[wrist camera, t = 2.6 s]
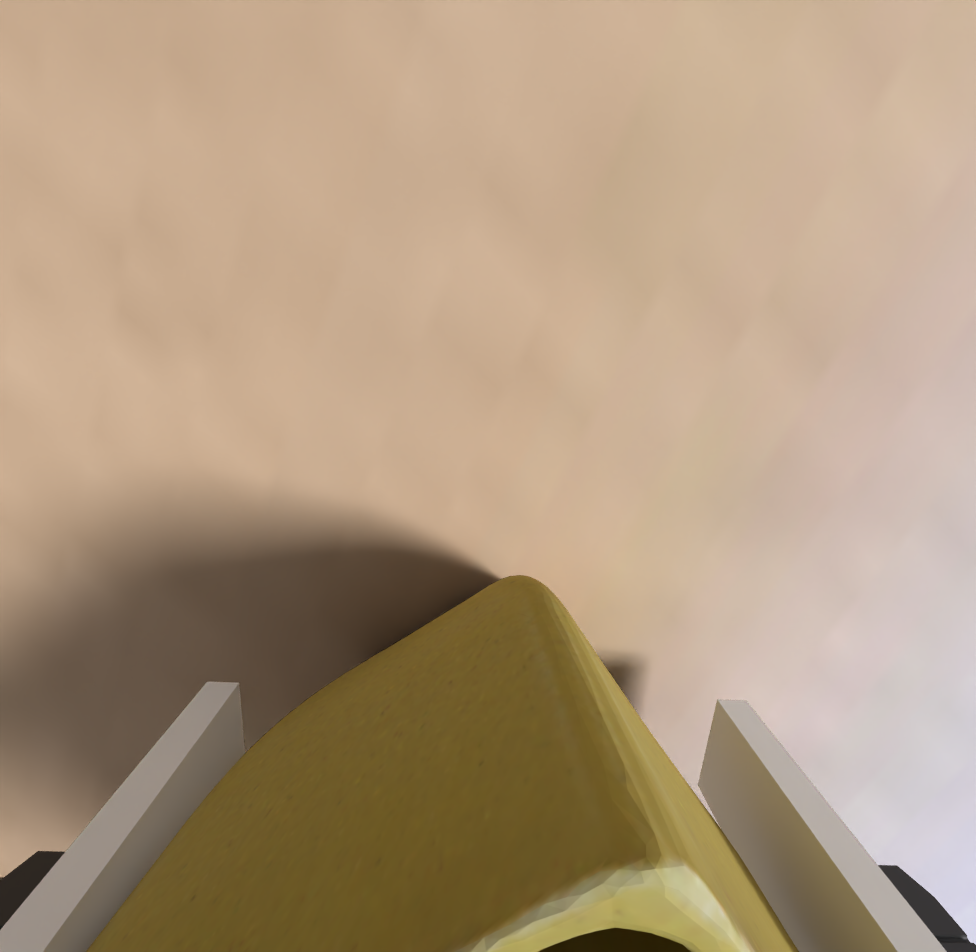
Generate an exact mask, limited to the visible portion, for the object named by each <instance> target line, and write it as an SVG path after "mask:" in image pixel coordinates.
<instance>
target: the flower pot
mask: <svg viewBox="0 0 976 952" xmlns="http://www.w3.org/2000/svg"><path fill="white" fill-rule="evenodd" d="M86 952H799V951H798V949H797V948H796V946H795V945H794V943H793V941H792V940H791V938H790V937H789V935H788V933H787V932H786V930H785V928H784V927H783V925H782V924H781V922H780V920H779V919H778V917H777V915H776V914H775V912H774V910H773V909H772V907H771V906H770V904H769V902H768V901H767V899H766V897H765V896H764V894H763V892H762V891H761V889H760V888H759V886H758V884H757V883H756V881H755V879H754V878H753V876H752V874H751V873H750V871H749V870H748V868H747V867H746V865H745V864H744V862H743V860H742V859H741V857H740V856H739V854H738V853H737V851H736V850H735V849H734V847H733V846H732V844H731V843H730V841H729V840H728V838H727V837H726V836H725V834H724V833H723V831H722V830H721V829H720V827H719V826H718V824H717V823H716V822H715V820H714V819H713V818H712V816H711V815H710V813H709V812H708V811H707V809H706V808H705V807H704V805H703V804H702V803H701V801H700V800H699V799H698V797H697V796H696V794H695V793H694V792H693V790H692V789H691V788H690V786H689V785H688V783H687V782H686V781H685V779H684V778H683V777H682V775H681V774H680V772H679V771H678V770H677V768H676V767H675V766H674V764H673V763H672V761H671V760H670V759H669V757H668V756H667V755H666V753H665V752H664V750H663V749H662V748H661V746H660V745H659V744H658V742H657V741H656V739H655V738H654V737H653V735H652V734H651V732H650V731H649V730H648V728H647V727H646V725H645V724H644V722H643V721H642V720H641V718H640V717H639V715H638V714H637V712H636V711H635V710H634V708H633V707H632V705H631V704H630V702H629V701H628V699H627V698H626V696H625V695H624V693H623V692H622V690H621V689H620V687H619V686H618V685H617V683H616V682H615V680H614V679H613V677H612V676H611V674H610V673H609V671H608V670H607V668H606V667H605V666H604V664H603V663H602V661H601V660H600V658H599V657H598V655H597V654H596V652H595V651H594V649H593V648H592V646H591V645H590V643H589V642H588V640H587V639H586V637H585V636H584V634H583V633H582V631H581V630H580V629H579V627H578V626H577V624H576V623H575V621H574V620H573V618H572V617H571V615H570V614H569V612H568V611H567V610H566V608H565V607H564V605H563V604H562V603H561V602H560V600H559V599H558V598H557V597H556V596H555V595H554V594H553V593H552V592H551V591H550V589H549V588H548V587H546V586H545V585H544V584H543V583H541V582H539V581H537V580H536V579H534V578H531V577H528V576H523V575H517V576H509V577H506V578H503V579H500V580H498V581H497V582H495V583H493V584H491V585H489V586H487V587H486V588H484V589H483V590H481V591H480V592H478V593H477V594H475V595H474V596H472V597H470V598H469V599H467V600H466V601H464V602H462V603H461V604H459V605H457V606H456V607H454V608H452V609H451V610H449V611H447V612H446V613H444V614H442V615H441V616H439V617H437V618H436V619H434V620H433V621H431V622H429V623H428V624H426V625H424V626H423V627H421V628H420V629H418V630H416V631H415V632H413V633H411V634H410V635H408V636H406V637H405V638H403V639H402V640H400V641H398V642H397V643H395V644H393V645H392V646H390V647H388V648H386V649H385V650H383V651H381V652H379V653H378V654H376V655H374V656H373V657H371V658H370V659H368V660H366V661H365V662H363V663H361V664H360V665H358V666H357V667H355V668H353V669H352V670H350V671H348V672H347V673H345V674H343V675H342V676H340V677H339V678H337V679H336V680H334V681H333V682H331V683H330V684H328V685H327V686H325V687H324V688H322V689H321V690H319V691H318V692H316V693H315V694H314V695H312V696H311V697H310V698H308V699H307V700H306V701H304V702H303V703H302V704H300V705H299V706H298V707H297V708H295V709H294V710H293V711H291V712H290V713H289V714H288V715H286V716H285V717H284V718H283V719H282V720H280V721H279V722H278V723H277V724H276V725H275V726H274V727H273V728H272V729H270V730H269V731H268V732H267V733H266V734H265V735H264V736H263V737H262V738H260V739H259V740H258V741H257V742H256V743H255V744H254V745H253V746H252V747H251V748H250V749H249V750H248V751H247V752H246V753H245V754H244V755H243V756H242V757H241V758H240V759H239V760H238V761H237V763H236V764H235V765H234V766H233V767H232V768H231V769H230V770H229V771H228V772H227V773H226V775H225V776H224V777H223V778H222V779H221V780H220V781H219V782H218V784H217V785H216V786H215V787H214V788H213V789H212V790H211V792H210V793H209V794H208V795H207V796H206V798H205V799H204V800H203V801H202V803H201V804H200V805H199V806H198V807H197V809H196V810H195V811H194V812H193V814H192V815H191V816H190V817H189V819H188V820H187V821H186V822H185V824H184V825H183V826H182V828H181V829H180V830H179V832H178V833H177V834H176V835H175V837H174V838H173V839H172V841H171V842H170V843H169V845H168V846H167V847H166V848H165V850H164V851H163V852H162V854H161V855H160V856H159V858H158V859H157V860H156V861H155V863H154V864H153V865H152V867H151V868H150V869H149V871H148V872H147V873H146V874H145V876H144V877H143V878H142V880H141V881H140V882H139V884H138V885H137V886H136V887H135V889H134V890H133V891H132V893H131V894H130V895H129V896H128V898H127V899H126V900H125V902H124V903H123V904H122V906H121V907H120V908H119V909H118V911H117V912H116V913H115V915H114V916H113V917H112V918H111V920H110V921H109V922H108V924H107V925H106V926H105V927H104V929H103V930H102V931H101V933H100V934H99V935H98V937H97V938H96V939H95V940H94V942H93V943H92V944H91V946H90V947H89V948H88V949H87V951H86Z"/></svg>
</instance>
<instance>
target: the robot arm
mask: <svg viewBox="0 0 976 952" xmlns="http://www.w3.org/2000/svg"><path fill="white" fill-rule="evenodd" d="M244 754H245V745H244V733H243V721H242V709H241V697H240V685H239V683H236V682H206V684H205V685H204V686H203V687H202V688H201V690H200V691H199V692H198V693H197V694H196V696H195V697H194V698H193V699H192V700H191V702H190V703H189V704H188V705H187V706H186V708H185V709H184V710H183V711H182V712H181V714H180V715H179V716H178V717H177V718H176V720H175V721H174V722H173V723H172V724H171V726H170V727H169V728H168V729H167V730H166V732H165V733H164V734H163V735H162V736H161V738H160V739H159V740H158V741H157V742H156V744H155V745H154V746H153V747H152V748H151V750H150V751H149V752H148V753H147V754H146V756H145V757H144V758H143V759H142V760H141V762H140V763H139V764H138V765H137V766H136V768H135V769H134V770H133V771H132V772H131V774H130V775H129V776H128V777H127V778H126V780H125V781H124V782H123V783H122V784H121V786H120V787H119V788H118V789H117V790H116V792H115V793H114V794H113V795H112V796H111V798H110V799H109V800H108V801H107V802H106V804H105V805H104V806H103V807H102V808H101V810H100V811H99V812H98V813H97V814H96V816H95V817H94V818H93V819H92V820H91V822H90V823H89V824H88V825H87V826H86V828H85V829H84V830H83V831H82V832H81V834H80V835H79V836H78V837H77V838H76V840H75V841H74V842H73V843H72V844H71V846H70V847H69V848H68V849H67V850H66V852H53V851H38V852H36V853H35V854H34V855H32V856H31V857H30V858H29V859H27V860H26V861H25V862H23V863H22V864H21V865H19V866H18V867H17V868H16V869H14V870H13V871H12V872H10V873H9V874H8V875H7V876H5V877H4V878H3V879H1V880H0V952H86V951H87V949H88V948H89V947H90V946H91V944H92V943H93V942H94V940H95V939H96V938H97V937H98V935H99V934H100V933H101V931H102V930H103V929H104V927H105V926H106V925H107V924H108V922H109V921H110V920H111V918H112V917H113V916H114V915H115V913H116V912H117V911H118V909H119V908H120V907H121V906H122V904H123V903H124V902H125V900H126V899H127V898H128V896H129V895H130V894H131V893H132V891H133V890H134V889H135V887H136V886H137V885H138V884H139V882H140V881H141V880H142V878H143V877H144V876H145V874H146V873H147V872H148V871H149V869H150V868H151V867H152V865H153V864H154V863H155V861H156V860H157V859H158V858H159V856H160V855H161V854H162V852H163V851H164V850H165V848H166V847H167V846H168V845H169V843H170V842H171V841H172V839H173V838H174V837H175V835H176V834H177V833H178V832H179V830H180V829H181V828H182V826H183V825H184V824H185V822H186V821H187V820H188V819H189V817H190V816H191V815H192V814H193V812H194V811H195V810H196V809H197V807H198V806H199V805H200V804H201V803H202V801H203V800H204V799H205V798H206V796H207V795H208V794H209V793H210V792H211V790H212V789H213V788H214V787H215V786H216V785H217V784H218V782H219V781H220V780H221V779H222V778H223V777H224V776H225V775H226V773H227V772H228V771H229V770H230V769H231V768H232V767H233V766H234V765H235V764H236V763H237V761H238V760H239V759H240V758H241V757H242V756H243V755H244ZM698 786H699V788H700V790H701V792H702V794H703V796H704V798H705V799H706V801H707V803H708V805H709V807H710V809H711V811H712V813H713V815H714V817H715V818H716V820H717V822H718V824H719V826H720V828H721V830H722V831H723V833H724V834H725V836H726V837H727V838H728V840H729V841H730V843H731V844H732V846H733V847H734V849H735V850H736V851H737V853H738V854H739V856H740V857H741V859H742V860H743V862H744V864H745V865H746V867H747V868H748V870H749V871H750V873H751V874H752V876H753V878H754V879H755V881H756V883H757V884H758V886H759V888H760V889H761V891H762V892H763V894H764V896H765V897H766V899H767V901H768V902H769V904H770V906H771V907H772V909H773V910H774V912H775V914H776V915H777V917H778V919H779V920H780V922H781V924H782V925H783V927H784V928H785V930H786V932H787V933H788V935H789V937H790V938H791V940H792V941H793V943H794V945H795V946H796V948H797V949H798V951H799V952H976V945H975V944H974V943H970V942H969V940H968V938H967V935H966V934H965V932H964V931H963V930H962V929H961V928H960V927H959V925H958V924H957V923H956V922H955V921H954V920H953V918H952V917H951V916H950V915H949V914H948V913H947V911H946V910H945V909H944V908H943V907H942V906H941V904H940V903H939V902H938V901H937V900H936V899H935V897H933V896H932V895H931V894H930V893H929V892H928V891H926V890H925V889H924V888H923V887H922V886H921V885H919V884H918V883H917V882H916V881H915V880H913V879H912V878H911V877H910V876H909V875H908V874H906V873H905V872H904V871H903V870H902V869H900V868H899V867H898V866H888V865H877V864H876V862H875V861H874V860H873V859H872V857H871V856H870V855H869V854H868V852H867V851H866V850H865V849H864V847H863V846H862V845H861V844H860V842H859V841H858V840H857V839H856V837H855V836H854V835H853V834H852V832H851V831H850V830H849V829H848V827H847V826H846V825H845V824H844V822H843V821H842V820H841V819H840V817H839V816H838V815H837V814H836V812H835V811H834V810H833V808H832V807H831V806H830V805H829V803H828V802H827V801H826V800H825V798H824V797H823V796H822V795H821V793H820V792H819V791H818V790H817V788H816V787H815V786H814V785H813V783H812V782H811V781H810V780H809V778H808V777H807V776H806V775H805V773H804V772H803V771H802V770H801V768H800V767H799V766H798V765H797V763H796V762H795V761H794V760H793V758H792V757H791V756H790V755H789V753H788V752H787V751H786V750H785V748H784V747H783V746H782V745H781V743H780V742H779V741H778V740H777V738H776V737H775V736H774V735H773V733H772V732H771V731H770V730H769V728H768V727H767V726H766V725H765V723H764V722H763V721H762V720H761V718H760V717H759V716H758V715H757V713H756V712H755V711H754V710H753V708H752V707H751V706H750V705H749V703H748V702H747V701H746V700H718V699H717V703H716V707H715V712H714V716H713V721H712V725H711V730H710V734H709V738H708V743H707V747H706V752H705V756H704V760H703V765H702V769H701V774H700V778H699V782H698Z"/></svg>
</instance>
